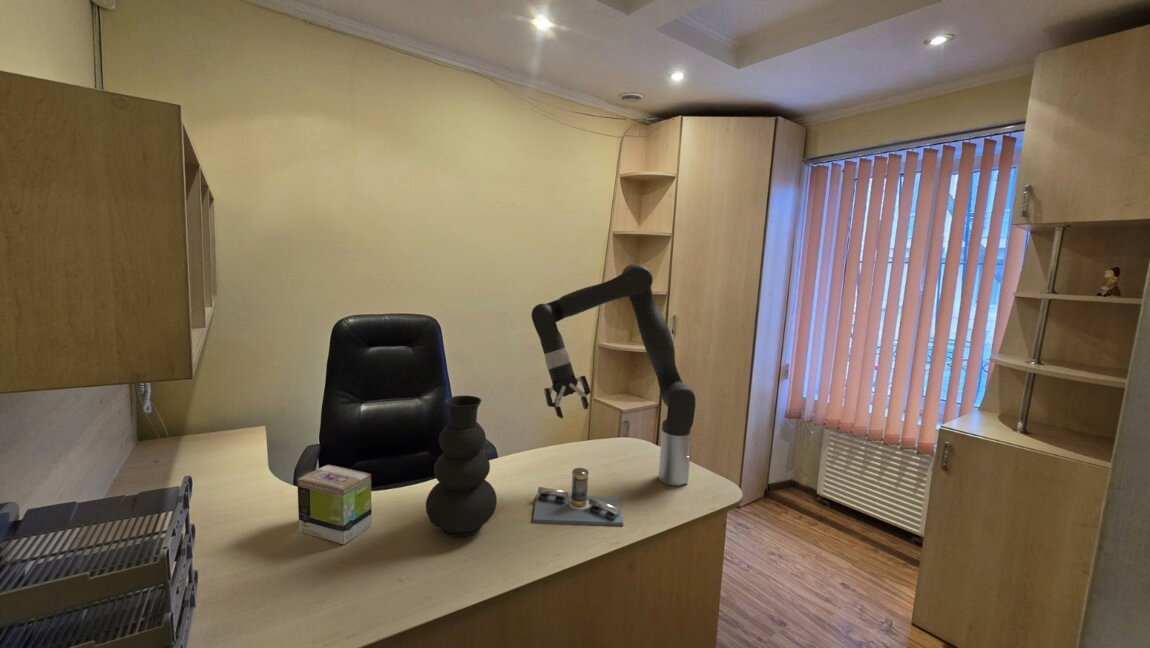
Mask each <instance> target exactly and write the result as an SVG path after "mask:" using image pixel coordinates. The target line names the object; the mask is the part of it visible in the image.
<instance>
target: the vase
mask: <svg viewBox="0 0 1150 648" xmlns="http://www.w3.org/2000/svg"><path fill="white" fill-rule="evenodd" d="M481 403H482V398H480V397H478V396H474V395H454V396H451V397H448V398H446V399H445V400H444V404H445V406H446V407H447V409H448V423H447V424H446V425H445V426H444V428H443V429H442V430H441V432H440V434H439V437H438V438H439V439H438V441H439V446H440V448H441V450H442V451H443V453H442V454H441V455H439V457H438V458H437V459H436V461H435V463H434V466H433V467H434V468H433V473H434V477H435V479H436V480H437V481H438V483H436V484H435V485H434V486H433V487H432V489H431V490H430V491H429V493H428V495H427V498H426V500H425V512H426V515H427V517H428V520H429V521H430V522H431V524H433V526H434V527H436V528H437V529H439V530H440V531H441V532H442V534H445V535H447V536H449V537H466V536H469V535H473V534H475V533H476V532H478V531H479V530H481V529H482V527H483V526H484V525H486V523H487V522H488V521H489V520H490V519H491V518H492V516H493V515H494V514H495V511H496V508H497V502H498V501H497V500H498V499H497V493H496V491H495V488H494V487H493V485H492V484H491V483H490V482H488V481H487V480H486V478H487V477H488V476H489V474H490V470H491V463H490V461H489V458H488V456H487V455H486V454H485V453H484V452H483V451H482V449H483V448H484V446H485V444H486V441H487V440H486V438H487V437H486V432H485V430H484V428H483V427H482V426H481V425H480V423H479V422H477V420H478V418H477V417H478V408H479V406H480V405H481Z"/></svg>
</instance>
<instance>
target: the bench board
mask: <svg viewBox="0 0 1150 648" xmlns="http://www.w3.org/2000/svg"><path fill="white" fill-rule="evenodd" d="M539 495H540V494H538V493H536V497H535V504H534V511H533V518H532V523H533V524H557V525H559V524H560V525H562V524H563V525H586V526H587V525H588V526H591V525H592V526H615V527H617V526H618V527H623V526H624V519H623V513H622V509H621V503H620V500H619V496H600V495H597V496H596V495H587V505H586V506H584V507H580V508H579V507H574V506H572V504H571V494H569V495H568V498H567V499H565V501H564V503H563V504H557V503H555V498H556V497H555V496H549V498H548V499H547V501H540V500H538V497H539ZM590 498H594V499H596V500H599V501H601V502H604V503H607V504H609V505H612V506H615V507H617V508H619V516H618V517H616V518H615V519H614V520H613V521H611V520H608V519H606V518H605V514H606V513H607V511H604V510H602V511H601V512H600V513H598V514H597V515H596V514H593V513H591V512H590V508H591V507H592V506H591V505H589V499H590Z"/></svg>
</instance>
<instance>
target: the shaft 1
mask: <svg viewBox="0 0 1150 648" xmlns="http://www.w3.org/2000/svg"><path fill="white" fill-rule="evenodd" d="M537 494H540V495H539V497H538V500H540V501H547V499H548V498H549V496H555V497H556V498H555V503H557V504H563V503H564V501H565V499H567V498H568V495H570V493H569V491H566V490H562V489H557V488H556V489H555V488H549V487H543V486H538V489H537Z"/></svg>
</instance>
